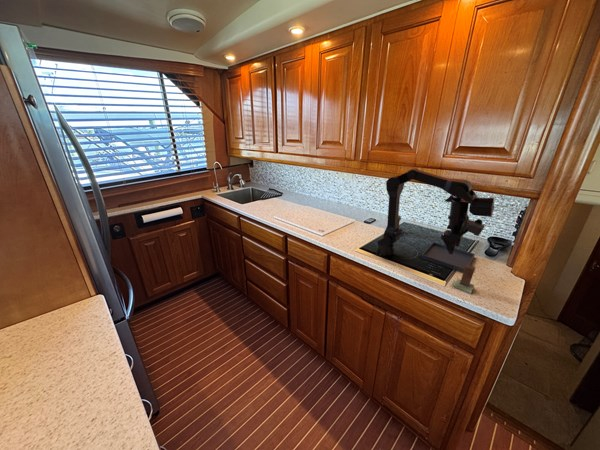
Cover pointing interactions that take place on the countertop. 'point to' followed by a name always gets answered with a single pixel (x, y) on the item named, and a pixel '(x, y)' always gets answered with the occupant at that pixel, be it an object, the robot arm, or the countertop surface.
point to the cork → (399, 219)
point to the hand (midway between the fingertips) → (454, 250)
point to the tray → (448, 257)
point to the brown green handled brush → (466, 280)
